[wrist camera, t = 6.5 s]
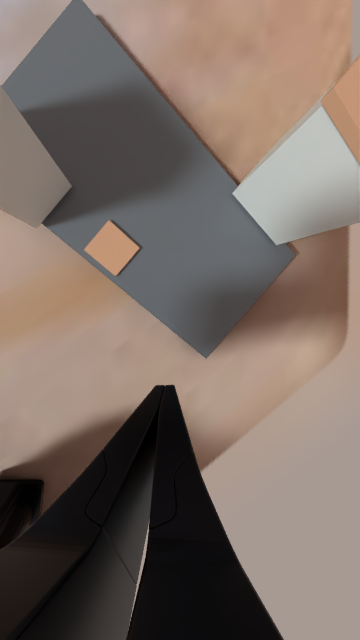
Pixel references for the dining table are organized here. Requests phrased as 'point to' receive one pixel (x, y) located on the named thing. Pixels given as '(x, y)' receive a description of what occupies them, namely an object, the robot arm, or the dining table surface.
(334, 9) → the dining table surface
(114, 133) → the grey flat board
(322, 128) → the white box tan lid
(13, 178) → the grey rectangular block
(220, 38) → the dining table surface
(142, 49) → the dining table surface
